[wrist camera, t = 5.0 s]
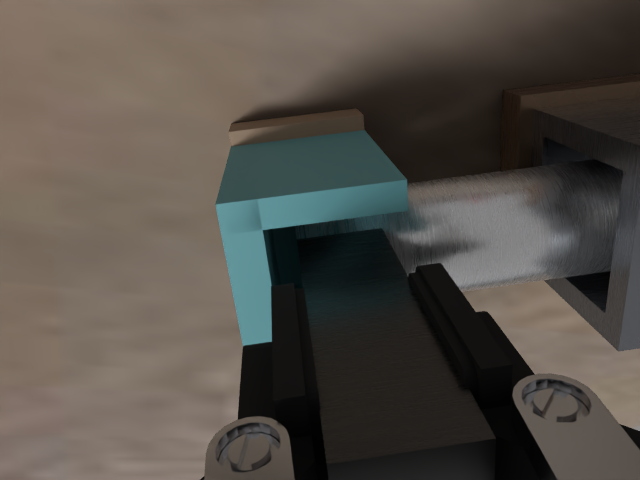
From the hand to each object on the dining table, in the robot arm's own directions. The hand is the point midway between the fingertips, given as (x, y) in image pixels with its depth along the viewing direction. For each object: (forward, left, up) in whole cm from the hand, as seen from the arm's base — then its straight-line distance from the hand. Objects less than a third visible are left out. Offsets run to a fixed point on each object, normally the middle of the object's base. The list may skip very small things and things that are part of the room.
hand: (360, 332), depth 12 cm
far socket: (0, -1, -9) cm, 9 cm away
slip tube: (0, +5, -6) cm, 8 cm away
